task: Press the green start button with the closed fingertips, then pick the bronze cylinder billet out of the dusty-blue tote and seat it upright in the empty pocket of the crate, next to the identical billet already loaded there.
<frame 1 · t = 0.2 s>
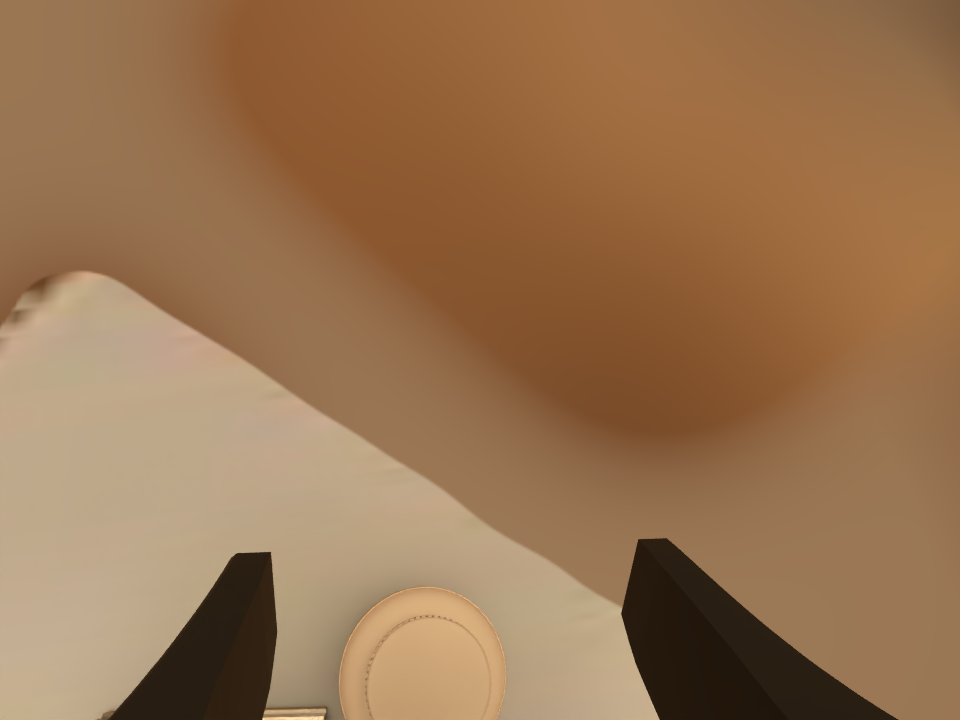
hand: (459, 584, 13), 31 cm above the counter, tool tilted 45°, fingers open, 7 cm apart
pill bottle: (409, 661, 40), on the counter
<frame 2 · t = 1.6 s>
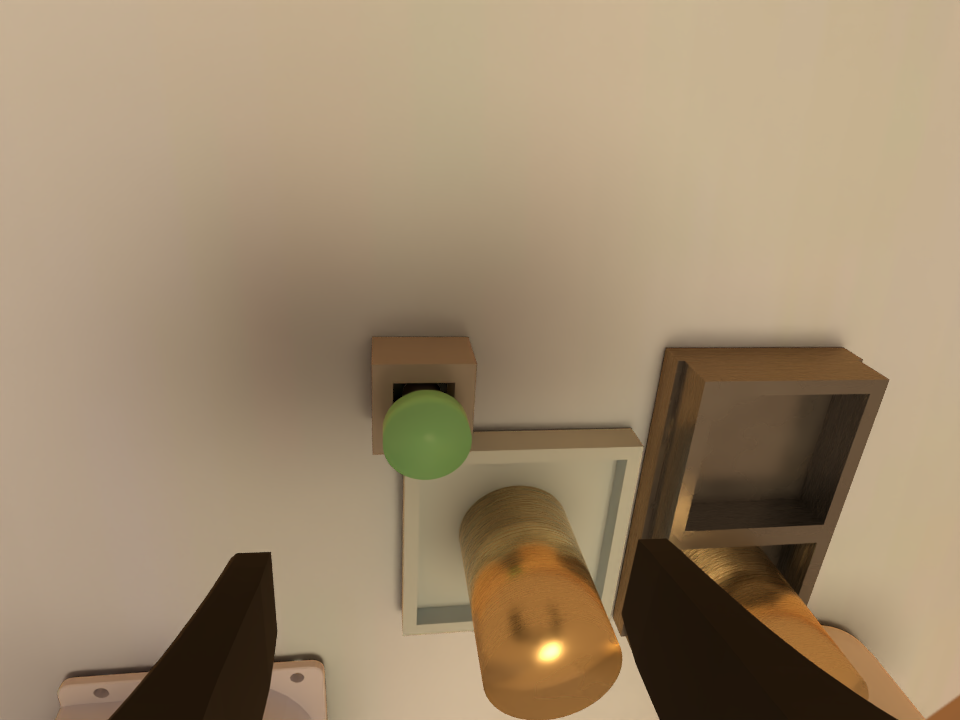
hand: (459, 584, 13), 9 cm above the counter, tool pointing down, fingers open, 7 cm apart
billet: (513, 530, 23), resting on tote
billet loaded: (714, 572, 25), point 1 cm above the counter, touching crate
crate: (718, 493, 24), on the counter
pill bottle: (779, 677, 30), on the counter
tote: (511, 523, 24), on the counter
start button: (424, 417, 18), point 2 cm above the counter, slide at 0.0 cm
button housing: (419, 379, 21), on the counter
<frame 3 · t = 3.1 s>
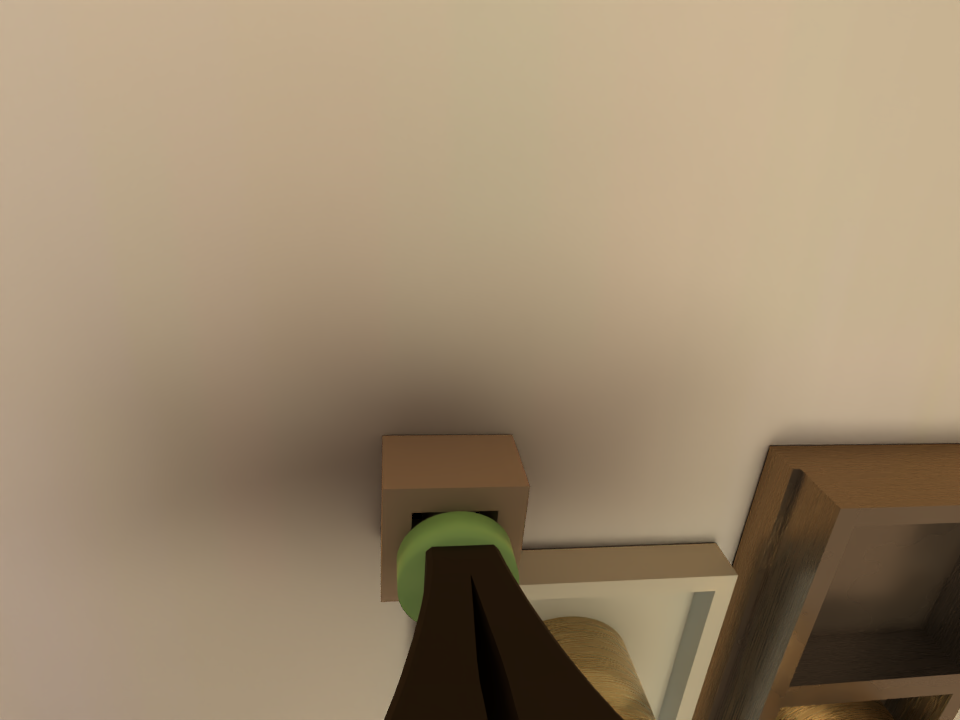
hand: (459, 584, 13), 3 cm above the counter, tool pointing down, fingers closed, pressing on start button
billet: (558, 668, 18), resting on tote
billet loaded: (807, 714, 20), point 1 cm above the counter, touching crate
crate: (816, 616, 19), on the counter
tote: (554, 656, 18), on the counter
start button: (452, 538, 14), point 2 cm above the counter, slide at 0.6 cm, touching gripper
button housing: (444, 488, 15), on the counter
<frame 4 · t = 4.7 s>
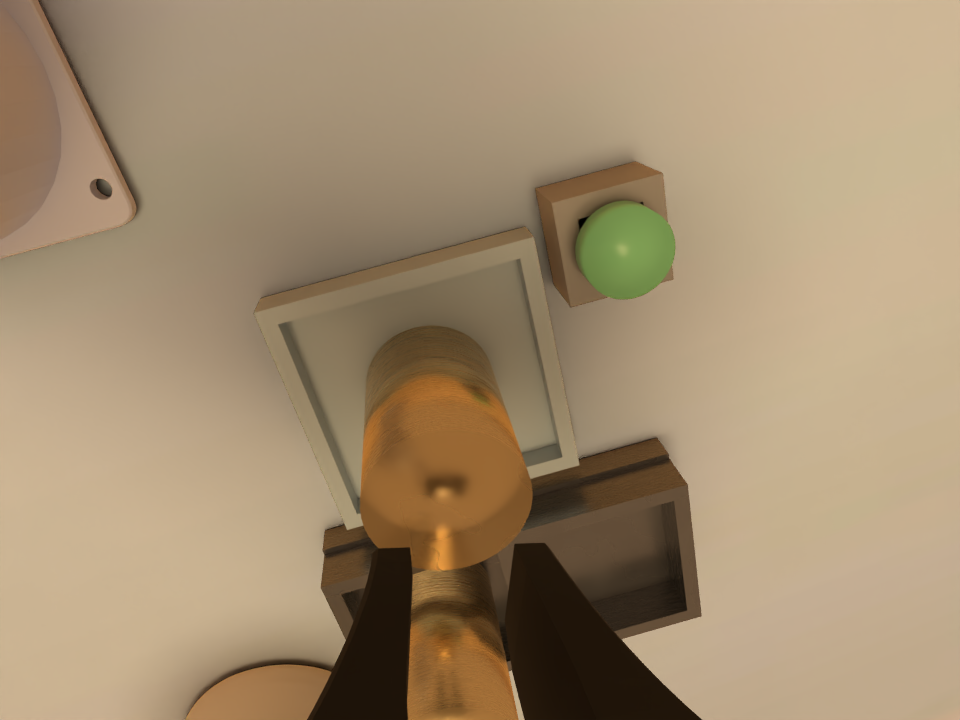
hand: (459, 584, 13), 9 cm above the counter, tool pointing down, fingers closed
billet: (430, 384, 20), resting on tote
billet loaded: (436, 593, 23), point 1 cm above the counter, touching crate
crate: (511, 551, 24), on the counter
pill bottle: (284, 719, 27), on the counter
tote: (429, 378, 20), on the counter
start button: (612, 240, 17), point 2 cm above the counter, slide at 0.6 cm
button housing: (593, 225, 19), on the counter
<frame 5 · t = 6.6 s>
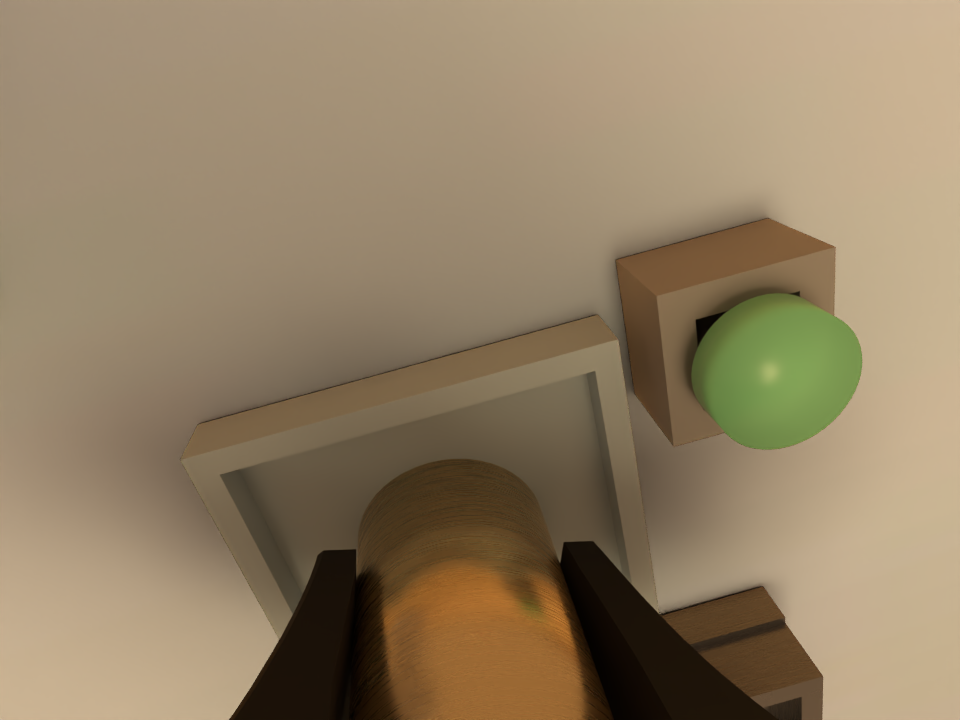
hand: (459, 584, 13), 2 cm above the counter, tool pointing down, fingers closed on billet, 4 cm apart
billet: (452, 536, 14), resting on tote, touching gripper
tote: (450, 524, 14), on the counter
start button: (742, 346, 11), point 2 cm above the counter, slide at 0.6 cm
button housing: (698, 310, 13), on the counter
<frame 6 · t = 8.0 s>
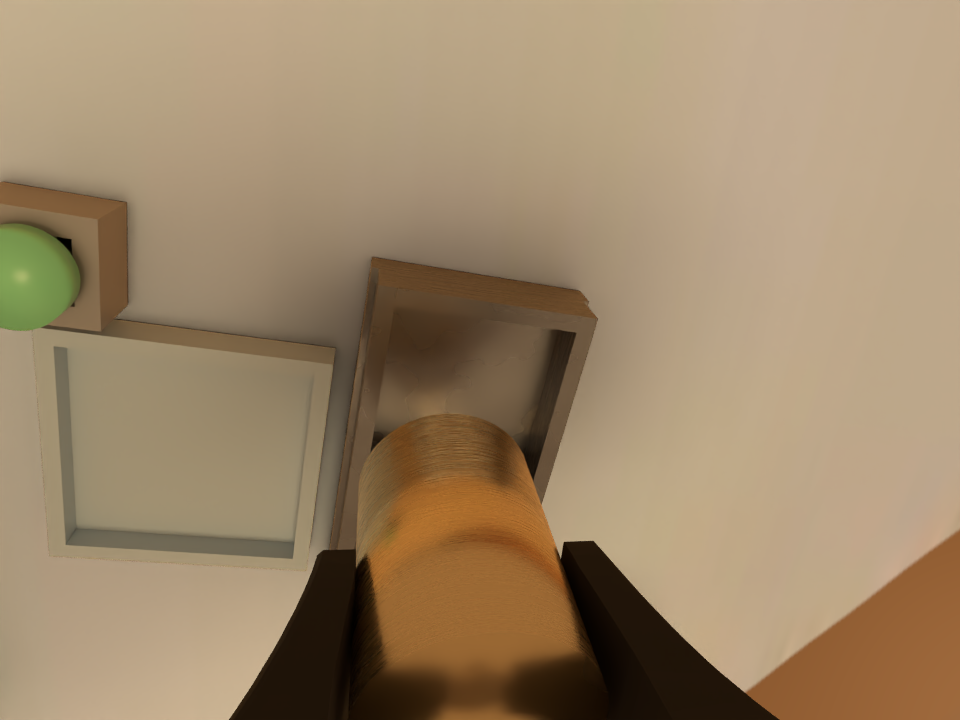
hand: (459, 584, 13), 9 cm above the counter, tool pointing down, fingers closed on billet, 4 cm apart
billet: (444, 487, 15), point 6 cm above the counter, touching gripper
crate: (443, 442, 22), on the counter
tote: (195, 442, 21), on the counter
start button: (37, 265, 16), point 2 cm above the counter, slide at 0.6 cm
button housing: (68, 246, 18), on the counter
when the fingers open (3 cm above the counter, at t = 9.7 s): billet stays where it is, resting on crate.
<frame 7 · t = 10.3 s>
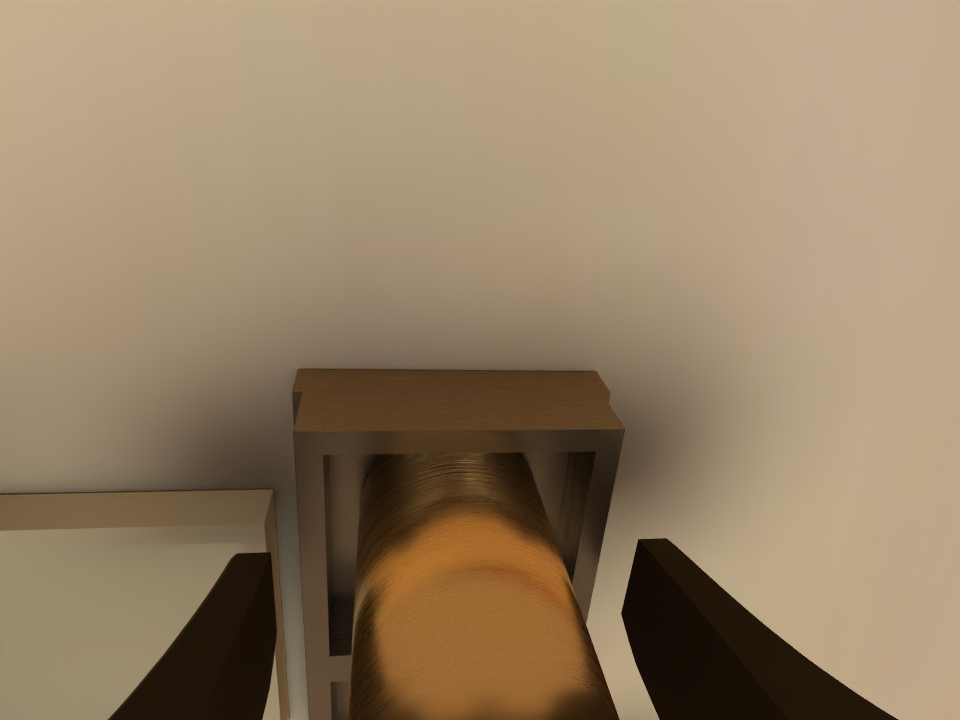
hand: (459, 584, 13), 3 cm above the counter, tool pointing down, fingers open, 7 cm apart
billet: (449, 505, 14), point 1 cm above the counter, touching crate
crate: (439, 580, 17), on the counter
tote: (115, 624, 16), on the counter
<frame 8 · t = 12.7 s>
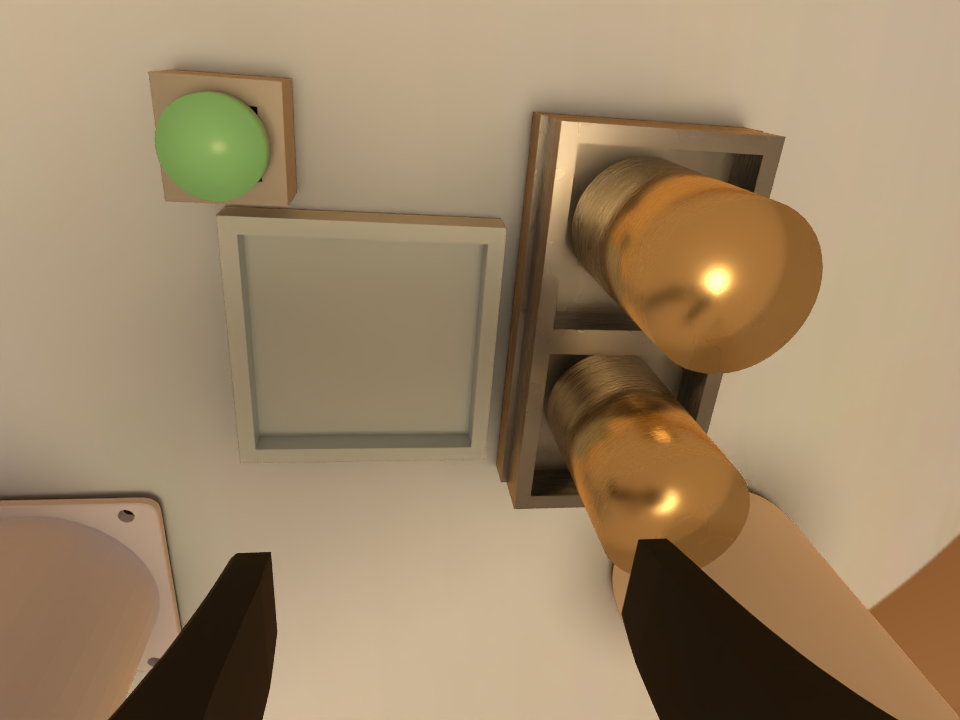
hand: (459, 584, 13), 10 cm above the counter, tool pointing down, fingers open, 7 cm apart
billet: (636, 225, 19), point 1 cm above the counter, touching crate
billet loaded: (603, 405, 22), point 1 cm above the counter, touching crate
crate: (608, 313, 21), on the counter
pill bottle: (694, 555, 27), on the counter
tote: (367, 336, 21), on the counter
start button: (224, 141, 16), point 2 cm above the counter, slide at 0.6 cm
button housing: (238, 133, 18), on the counter
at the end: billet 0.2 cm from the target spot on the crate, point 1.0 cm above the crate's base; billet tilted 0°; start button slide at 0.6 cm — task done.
